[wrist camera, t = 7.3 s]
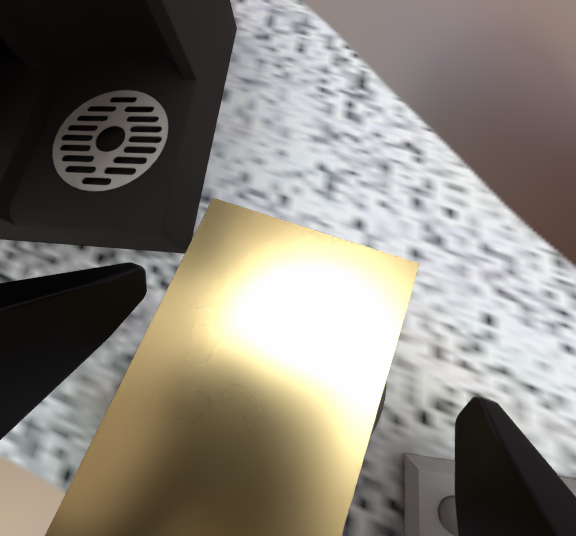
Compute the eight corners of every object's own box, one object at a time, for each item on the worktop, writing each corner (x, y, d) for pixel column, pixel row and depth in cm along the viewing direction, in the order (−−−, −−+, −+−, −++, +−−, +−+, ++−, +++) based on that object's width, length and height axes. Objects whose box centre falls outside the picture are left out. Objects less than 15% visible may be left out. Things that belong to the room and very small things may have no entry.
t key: (305, 451, 13) (267, 793, 3) (237, 419, 14) (9, 608, 4) (346, 327, 15) (419, 263, 4) (282, 303, 16) (213, 198, 5)
